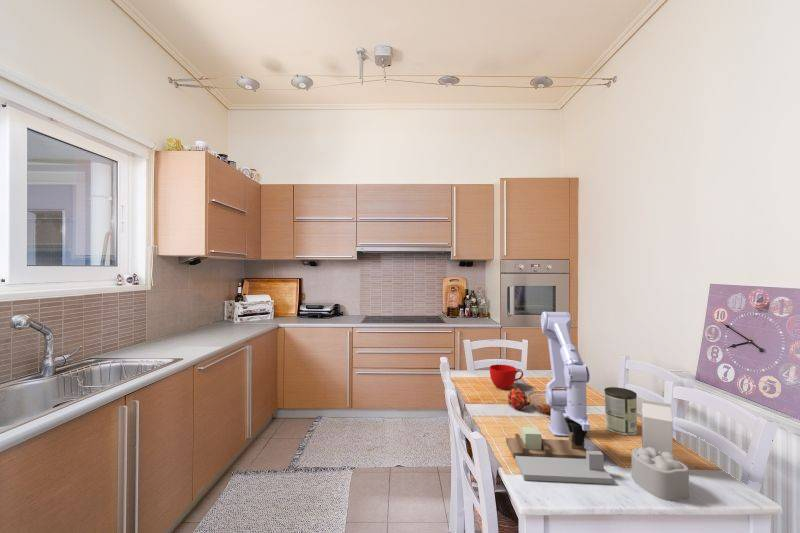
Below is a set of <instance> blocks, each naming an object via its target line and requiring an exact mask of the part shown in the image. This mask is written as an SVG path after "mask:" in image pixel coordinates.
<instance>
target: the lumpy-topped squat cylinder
mask: <svg viewBox="0 0 800 533" xmlns="http://www.w3.org/2000/svg"><path fill="white" fill-rule="evenodd" d="M689 472H690V470H689V468H688V466H687V464H684V463H683V462H681V461H679V460H677V459H676V458H675V456H674V454H673V455H672V454H671V453H669V452H661V451H659V452H658V451H656V450H655V449H654V448H651V447H647V448H643V447H642V446H641V447H639V446H638V447H634V448H632V449H631V478H632V480H633V482H634V483H635V484H636V485H638V486H639V487H640V488H642V489H643V490H644V491H645V492H647V493H649V494H651V495H652V496H653V497H655V498H658V499H660V500H663V501H666V502H672V501H676V500H679V499H680V500H686V499H687V500H688V499H689V497H690V477H689V476H690V475H689V474H690V473H689Z"/></svg>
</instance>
